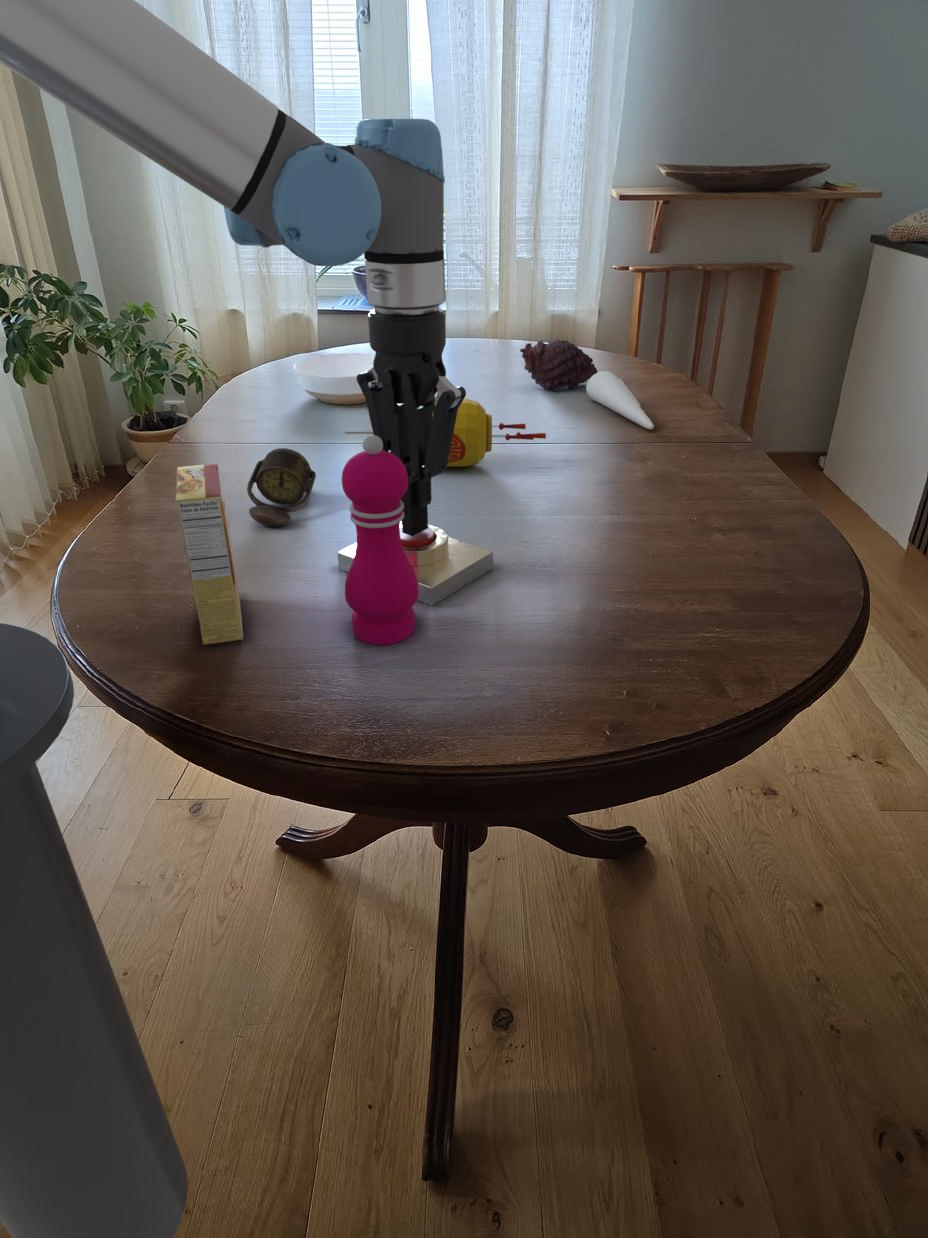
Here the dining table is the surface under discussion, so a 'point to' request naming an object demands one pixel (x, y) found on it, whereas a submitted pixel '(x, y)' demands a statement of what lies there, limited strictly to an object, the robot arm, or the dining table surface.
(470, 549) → the control block
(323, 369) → the bowl
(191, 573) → the candy box
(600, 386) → the long cone
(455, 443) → the lantern
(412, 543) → the button
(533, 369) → the pine cone
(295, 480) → the brass desk clock
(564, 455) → the dining table surface
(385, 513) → the pepper mill
